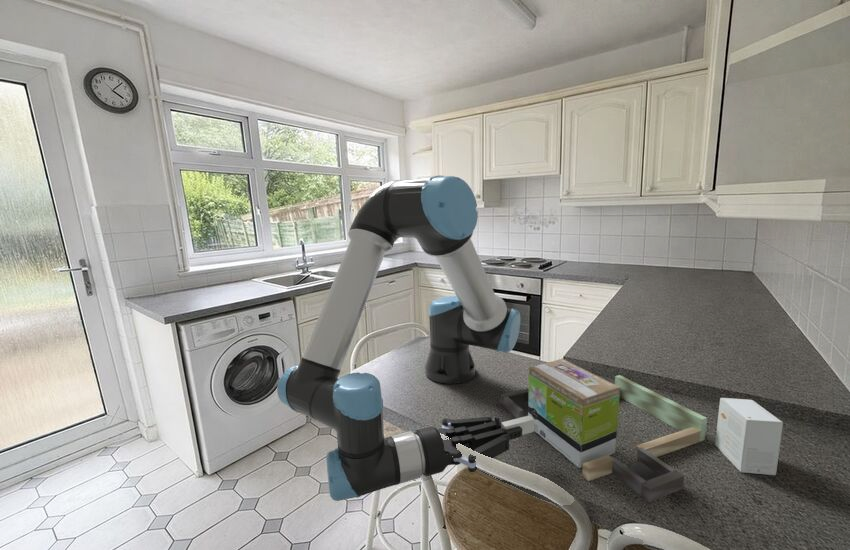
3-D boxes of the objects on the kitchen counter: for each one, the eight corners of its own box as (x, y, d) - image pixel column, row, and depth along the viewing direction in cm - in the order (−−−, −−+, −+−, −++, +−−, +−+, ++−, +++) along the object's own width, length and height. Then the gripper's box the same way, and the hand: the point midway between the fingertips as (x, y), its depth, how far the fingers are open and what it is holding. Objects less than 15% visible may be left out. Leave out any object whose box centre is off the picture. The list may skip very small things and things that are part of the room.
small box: (776, 476, 63) (785, 422, 61) (739, 473, 64) (747, 420, 62) (745, 447, 70) (752, 398, 69) (713, 444, 71) (719, 396, 70)
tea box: (525, 427, 79) (527, 365, 76) (560, 416, 83) (562, 356, 80) (579, 470, 65) (583, 397, 63) (617, 454, 69) (622, 385, 67)
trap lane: (500, 403, 89) (500, 385, 88) (596, 380, 99) (597, 364, 98) (621, 513, 56) (623, 486, 55) (746, 462, 66) (749, 438, 65)
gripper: (408, 449, 69) (512, 422, 76) (432, 499, 56) (553, 461, 64) (406, 414, 67) (513, 390, 75) (430, 458, 55) (554, 424, 63)
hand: (531, 423), depth 70 cm, fingers closed
